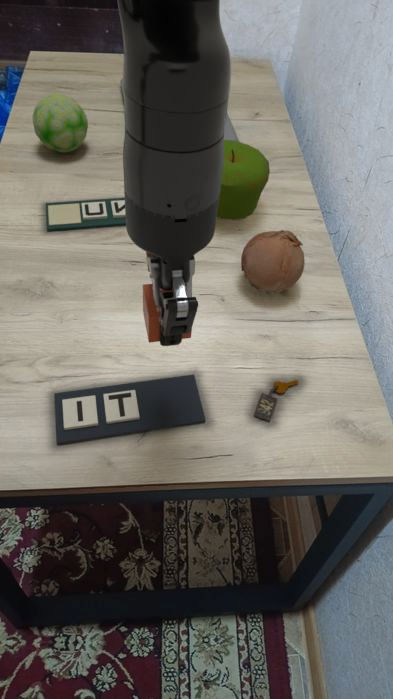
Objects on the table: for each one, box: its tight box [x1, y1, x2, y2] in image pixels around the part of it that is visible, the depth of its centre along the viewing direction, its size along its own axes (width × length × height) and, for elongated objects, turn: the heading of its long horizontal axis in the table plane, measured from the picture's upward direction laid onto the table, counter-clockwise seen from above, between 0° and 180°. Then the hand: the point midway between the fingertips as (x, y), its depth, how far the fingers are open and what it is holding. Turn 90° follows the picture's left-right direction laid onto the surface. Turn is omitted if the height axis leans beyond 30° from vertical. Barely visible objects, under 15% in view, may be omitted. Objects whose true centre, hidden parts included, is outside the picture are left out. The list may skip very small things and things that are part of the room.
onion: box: [240, 229, 306, 295], centre depth 73 cm, size 10×9×10 cm
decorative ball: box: [32, 93, 89, 153], centre depth 92 cm, size 10×10×10 cm
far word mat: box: [45, 197, 126, 232], centre depth 84 cm, size 18×7×1 cm, turn 102°
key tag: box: [253, 379, 299, 422], centre depth 64 cm, size 8×3×1 cm, turn 144°
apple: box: [217, 140, 270, 221], centre depth 83 cm, size 12×12×11 cm
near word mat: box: [53, 373, 206, 446], centre depth 61 cm, size 18×7×1 cm, turn 102°
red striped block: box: [142, 283, 193, 343], centre depth 50 cm, size 4×4×4 cm
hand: (166, 323), depth 52 cm, fingers closed on red striped block, 4 cm apart
